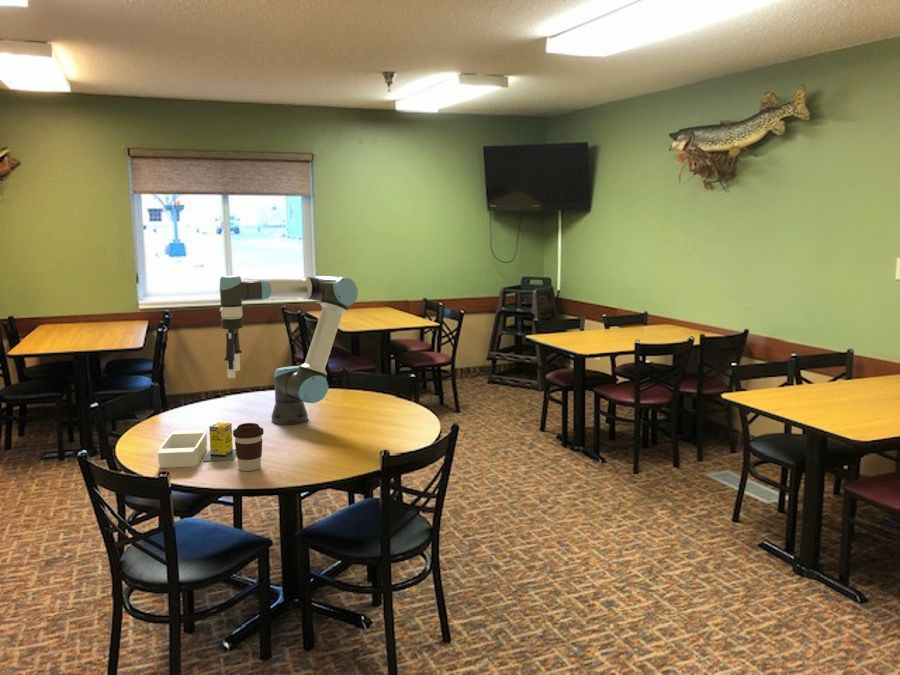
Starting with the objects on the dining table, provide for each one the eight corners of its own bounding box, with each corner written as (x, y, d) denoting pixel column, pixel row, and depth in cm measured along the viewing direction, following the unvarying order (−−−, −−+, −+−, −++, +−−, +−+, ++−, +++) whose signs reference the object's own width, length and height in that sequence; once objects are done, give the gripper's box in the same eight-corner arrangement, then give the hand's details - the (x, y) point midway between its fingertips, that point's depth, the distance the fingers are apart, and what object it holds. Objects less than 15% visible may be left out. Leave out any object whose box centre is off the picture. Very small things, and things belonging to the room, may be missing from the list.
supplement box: (226, 457, 246) (224, 427, 244) (210, 456, 247) (208, 426, 245) (233, 452, 252) (232, 422, 250) (217, 451, 252) (216, 422, 251)
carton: (209, 446, 260) (208, 429, 259) (195, 470, 234) (194, 451, 233) (173, 447, 258) (172, 430, 257) (156, 471, 232) (155, 453, 231)
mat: (237, 450, 255) (237, 448, 255) (233, 460, 244) (233, 459, 244) (209, 451, 254) (209, 450, 254) (203, 461, 242) (203, 460, 242)
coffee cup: (237, 463, 240) (236, 421, 238) (267, 463, 241) (265, 421, 239) (231, 473, 231) (229, 429, 228) (261, 472, 232) (260, 429, 229)
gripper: (226, 313, 268) (228, 367, 271) (215, 322, 244) (218, 381, 247) (246, 313, 269) (248, 367, 273) (237, 321, 245) (240, 380, 248)
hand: (234, 374), depth 260 cm, fingers open, 13 cm apart
